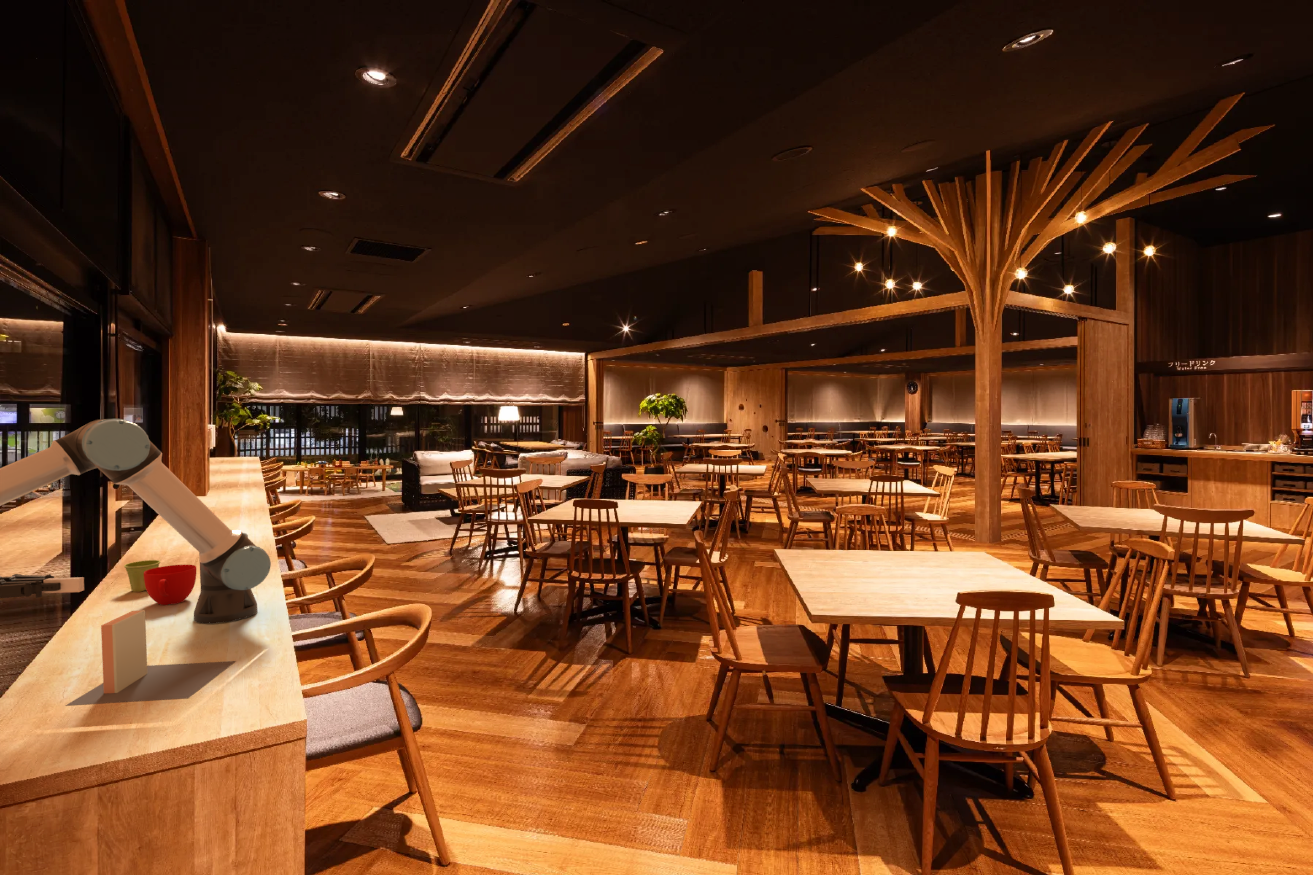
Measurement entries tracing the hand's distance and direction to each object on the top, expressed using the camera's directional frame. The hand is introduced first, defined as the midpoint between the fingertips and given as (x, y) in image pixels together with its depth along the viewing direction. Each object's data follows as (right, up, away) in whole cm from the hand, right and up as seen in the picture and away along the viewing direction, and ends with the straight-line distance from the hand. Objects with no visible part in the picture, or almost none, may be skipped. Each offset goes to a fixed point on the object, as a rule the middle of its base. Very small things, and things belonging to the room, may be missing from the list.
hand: (81, 584), depth 139 cm
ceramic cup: (-27, -20, +63) cm, 71 cm away
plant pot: (-47, -19, +79) cm, 94 cm away
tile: (+8, -21, +2) cm, 23 cm away
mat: (+14, -22, +3) cm, 26 cm away
